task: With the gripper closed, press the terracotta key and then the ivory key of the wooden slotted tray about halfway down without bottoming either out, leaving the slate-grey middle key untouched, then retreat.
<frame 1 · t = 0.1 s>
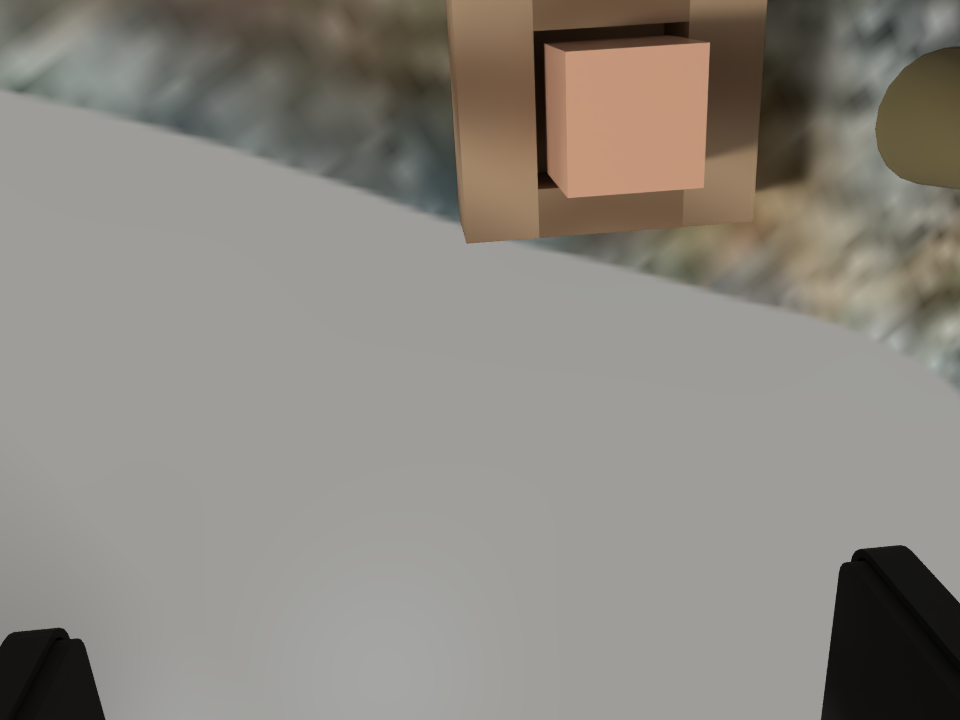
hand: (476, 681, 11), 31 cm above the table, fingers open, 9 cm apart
key terracotta: (621, 113, 34), point 6 cm above the table, slide at 0.0 cm
cork: (937, 117, 41), on the table
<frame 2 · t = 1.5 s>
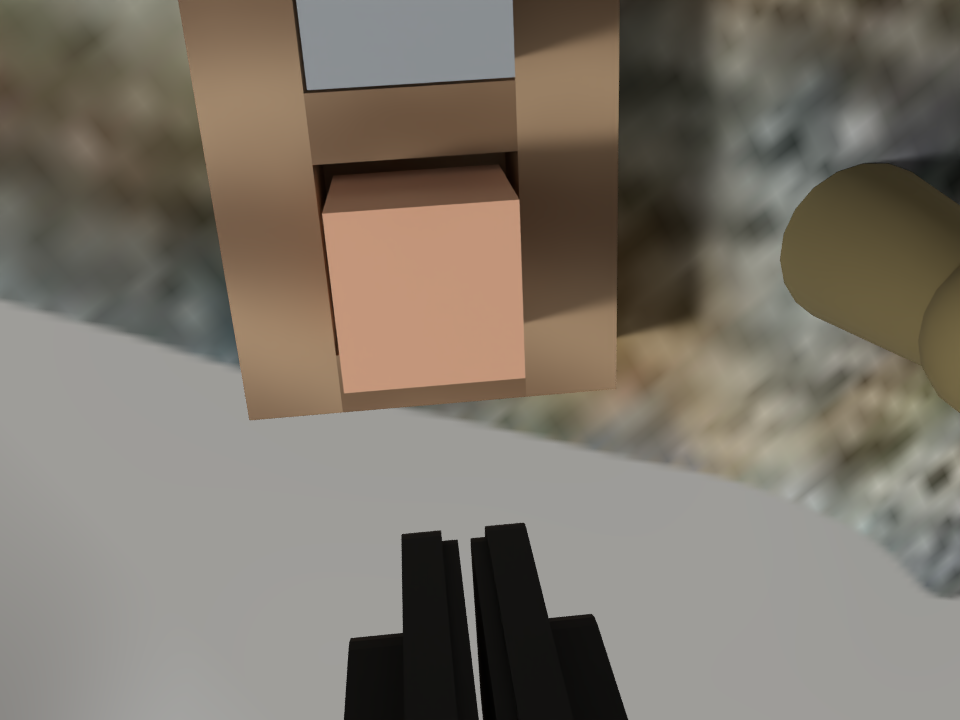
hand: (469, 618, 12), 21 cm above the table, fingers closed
key terracotta: (425, 272, 26), point 6 cm above the table, slide at 0.0 cm
cork: (858, 244, 33), on the table
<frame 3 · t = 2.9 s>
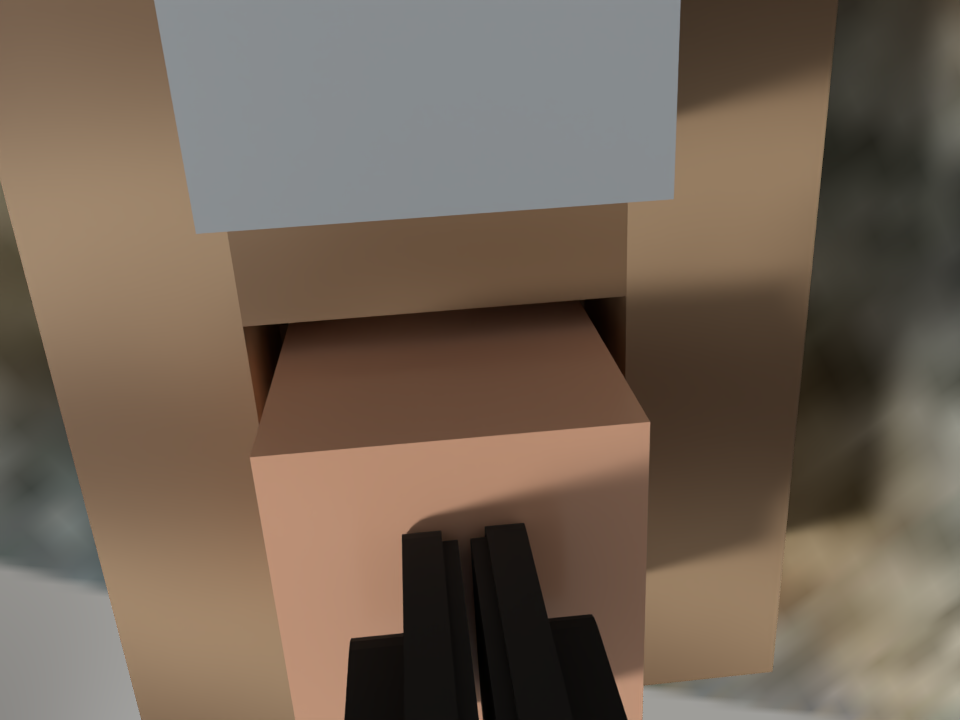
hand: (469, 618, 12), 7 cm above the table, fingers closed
key terracotta: (453, 507, 14), point 5 cm above the table, slide at 0.7 cm, touching gripper
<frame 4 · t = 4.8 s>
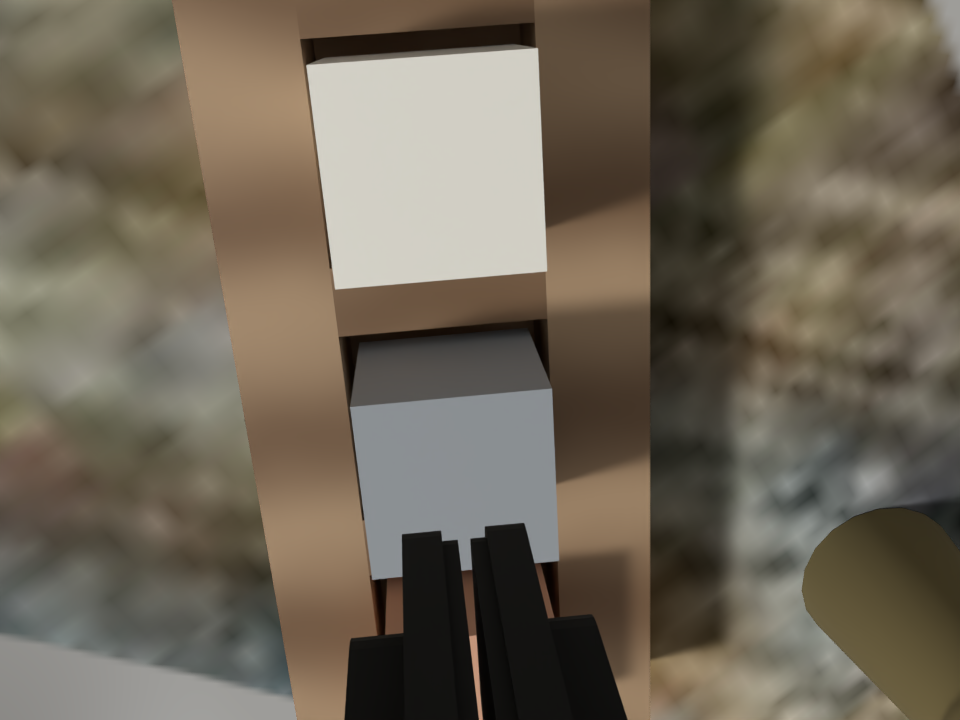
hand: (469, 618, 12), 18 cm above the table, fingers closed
key ivory: (429, 158, 23), point 6 cm above the table, slide at 0.0 cm
key slate: (454, 446, 25), point 6 cm above the table, slide at 0.0 cm
key terracotta: (471, 652, 29), point 4 cm above the table, slide at 1.2 cm
cork: (875, 573, 35), on the table
wooden slotted tray: (446, 374, 31), on the table
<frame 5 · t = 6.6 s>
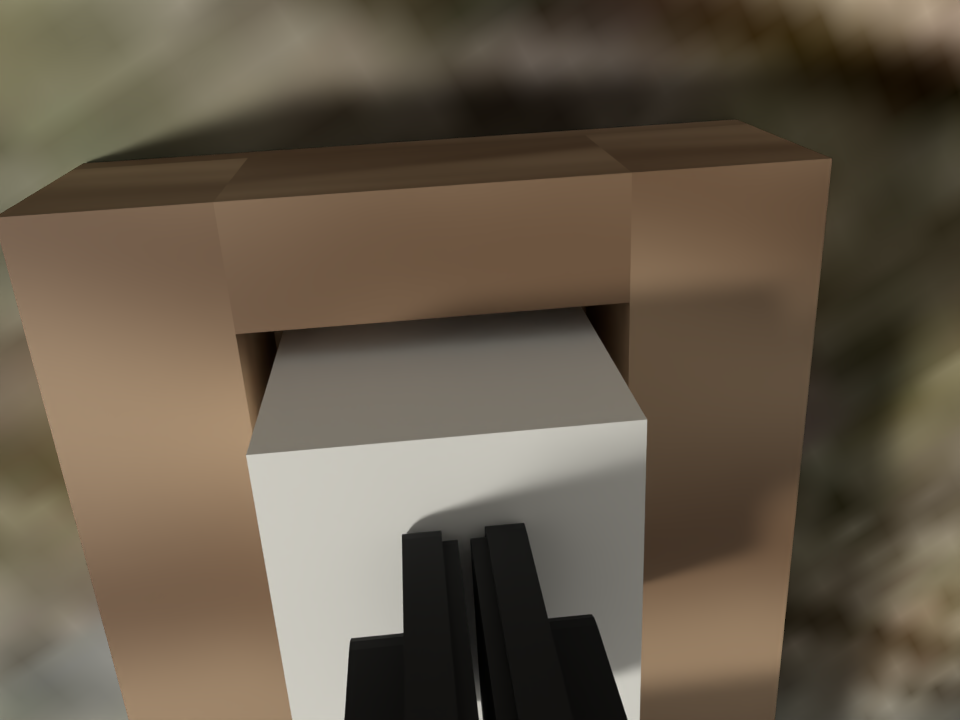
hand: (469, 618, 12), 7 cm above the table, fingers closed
key ivory: (450, 505, 14), point 5 cm above the table, slide at 1.1 cm, touching gripper
wooden slotted tray: (459, 688, 22), on the table
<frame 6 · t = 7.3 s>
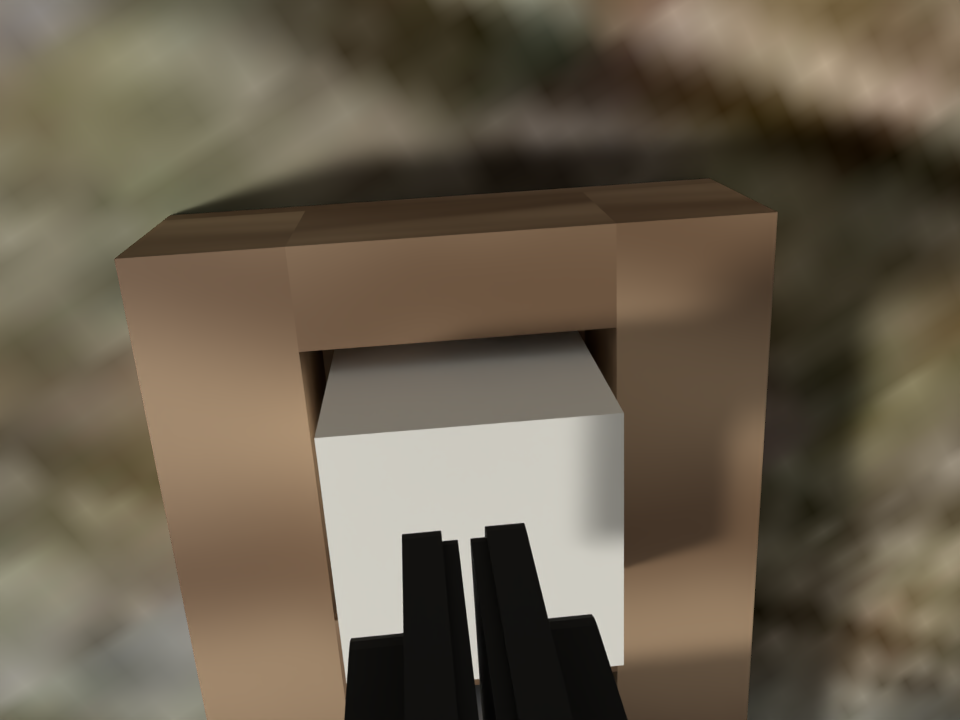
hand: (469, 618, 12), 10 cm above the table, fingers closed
key ivory: (470, 491, 18), point 4 cm above the table, slide at 1.2 cm
wooden slotted tray: (476, 673, 25), on the table
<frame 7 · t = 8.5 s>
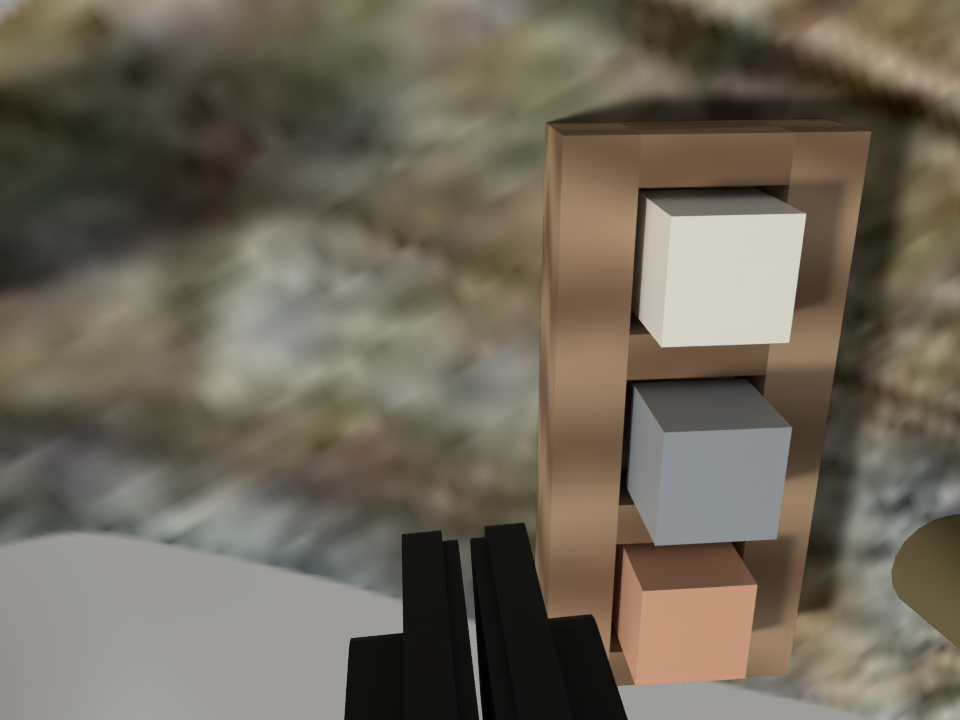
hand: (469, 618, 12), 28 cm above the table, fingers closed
key ivory: (710, 264, 36), point 4 cm above the table, slide at 1.2 cm
key slate: (702, 458, 37), point 6 cm above the table, slide at 0.0 cm
key terracotta: (679, 602, 41), point 4 cm above the table, slide at 1.2 cm
cork: (944, 562, 48), on the table
wooden slotted tray: (664, 403, 43), on the table
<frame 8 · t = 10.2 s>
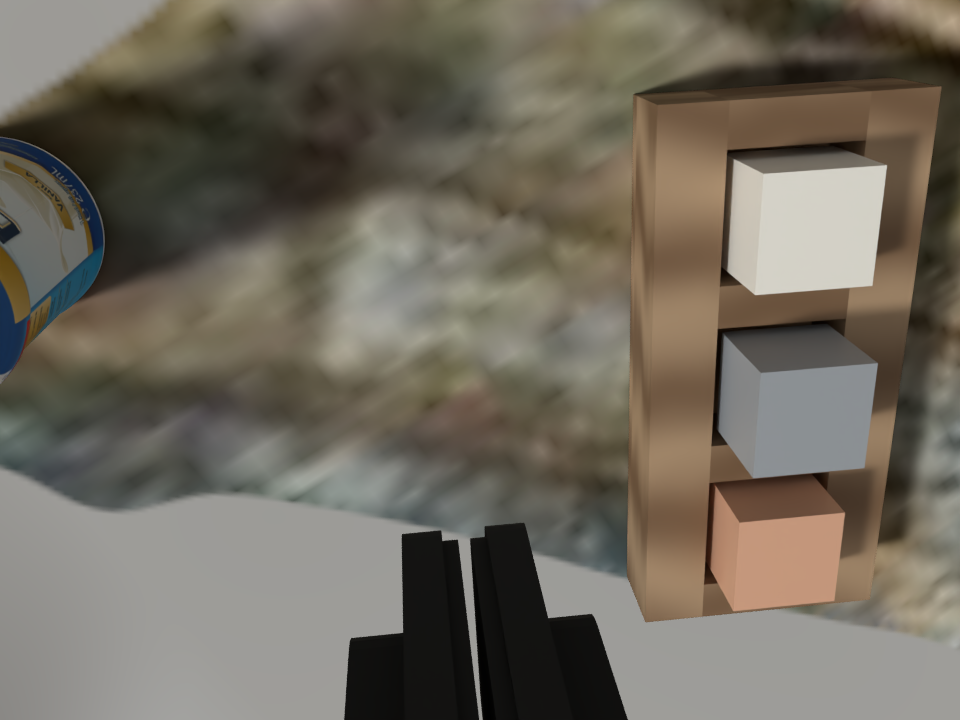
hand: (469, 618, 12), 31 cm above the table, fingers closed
key ivory: (795, 217, 39), point 4 cm above the table, slide at 1.2 cm
key slate: (791, 398, 41), point 6 cm above the table, slide at 0.0 cm
beverage bottle: (15, 226, 40), on the table
key terracotta: (768, 534, 45), point 4 cm above the table, slide at 1.2 cm
wooden slotted tray: (746, 352, 46), on the table
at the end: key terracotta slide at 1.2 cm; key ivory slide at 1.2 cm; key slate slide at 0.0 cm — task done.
